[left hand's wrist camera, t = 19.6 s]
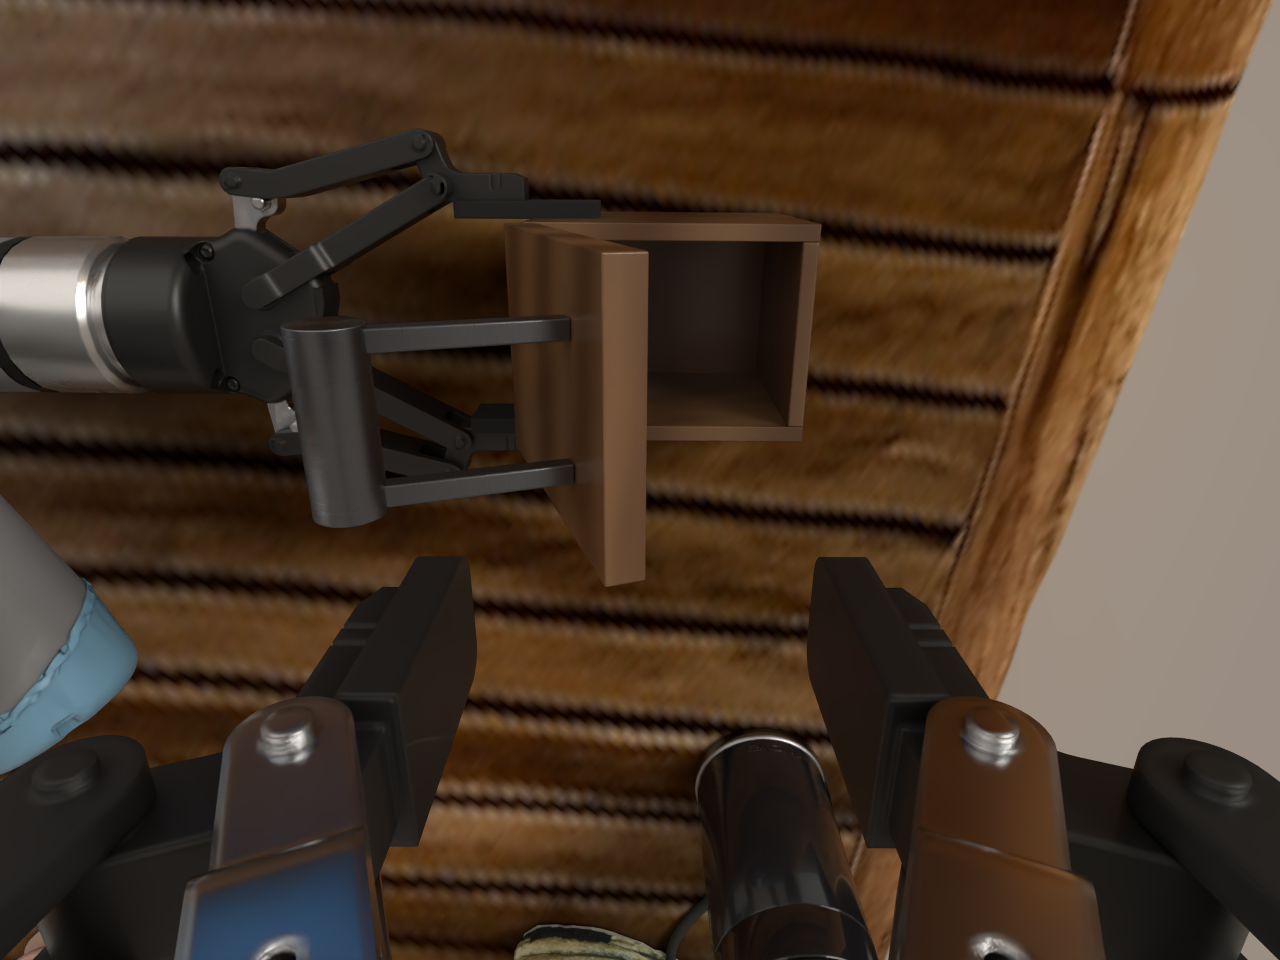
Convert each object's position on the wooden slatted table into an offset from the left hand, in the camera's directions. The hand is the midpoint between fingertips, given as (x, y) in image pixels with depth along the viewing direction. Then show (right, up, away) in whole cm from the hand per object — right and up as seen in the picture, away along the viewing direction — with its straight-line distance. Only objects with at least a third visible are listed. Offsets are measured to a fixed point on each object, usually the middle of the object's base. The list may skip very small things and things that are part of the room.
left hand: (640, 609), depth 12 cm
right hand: (-2, +10, +25) cm, 27 cm away
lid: (-2, +6, +15) cm, 16 cm away
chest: (+1, +12, +31) cm, 34 cm away
